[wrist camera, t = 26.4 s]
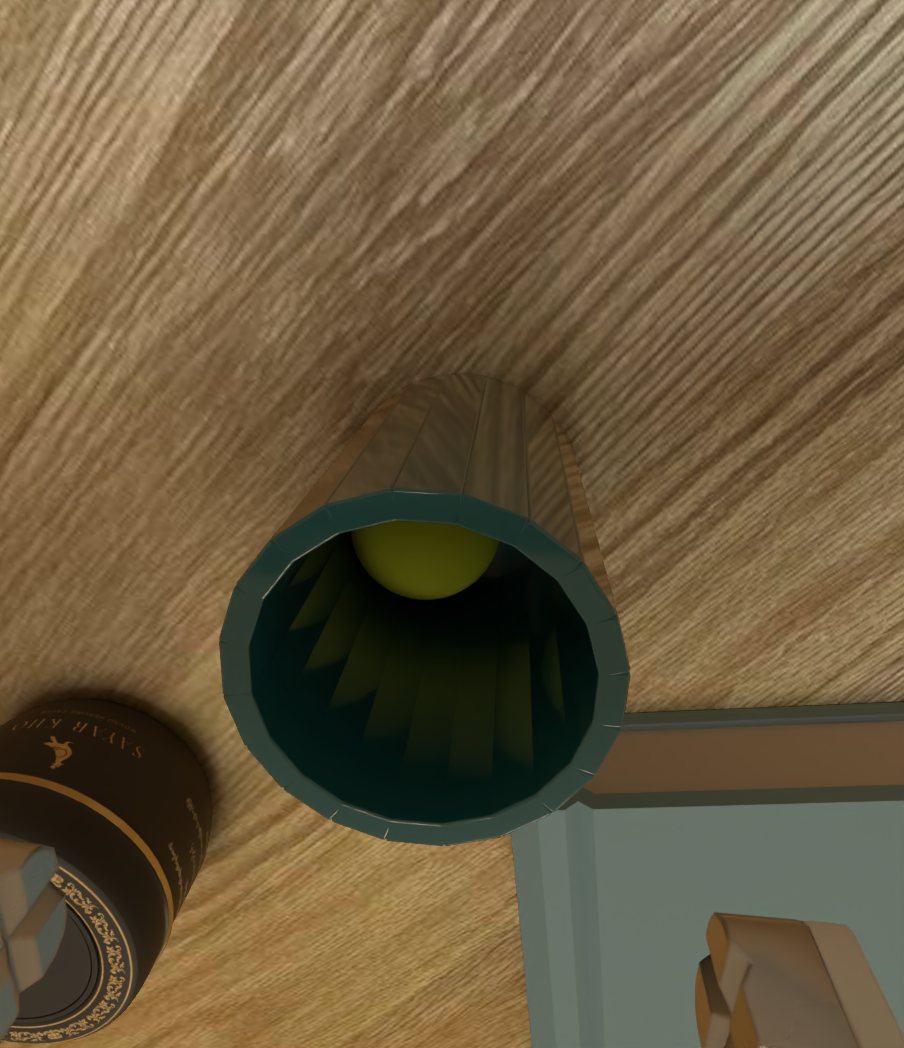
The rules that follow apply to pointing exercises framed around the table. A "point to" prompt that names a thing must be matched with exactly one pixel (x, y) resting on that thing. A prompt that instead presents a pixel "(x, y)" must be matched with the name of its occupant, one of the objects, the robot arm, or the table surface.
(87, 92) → the table surface
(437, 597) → the ball
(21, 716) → the jar
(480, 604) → the tube
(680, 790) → the book
